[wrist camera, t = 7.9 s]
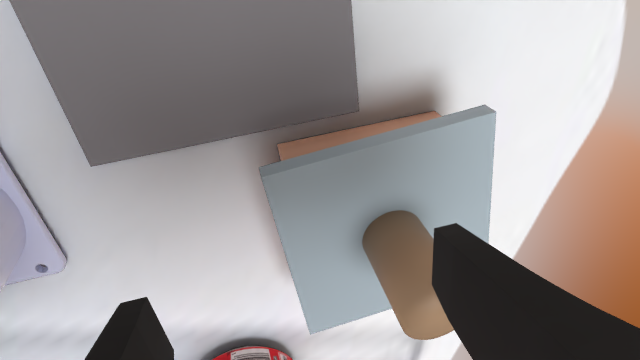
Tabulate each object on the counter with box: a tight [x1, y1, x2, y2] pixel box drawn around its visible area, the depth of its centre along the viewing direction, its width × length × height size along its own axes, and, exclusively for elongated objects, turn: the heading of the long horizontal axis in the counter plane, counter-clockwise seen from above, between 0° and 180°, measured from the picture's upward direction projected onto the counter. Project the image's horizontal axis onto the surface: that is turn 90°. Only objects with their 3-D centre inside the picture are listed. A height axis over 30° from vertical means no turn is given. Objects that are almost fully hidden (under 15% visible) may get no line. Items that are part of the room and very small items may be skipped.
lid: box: [259, 105, 496, 340], centre depth 17 cm, size 10×10×5 cm
